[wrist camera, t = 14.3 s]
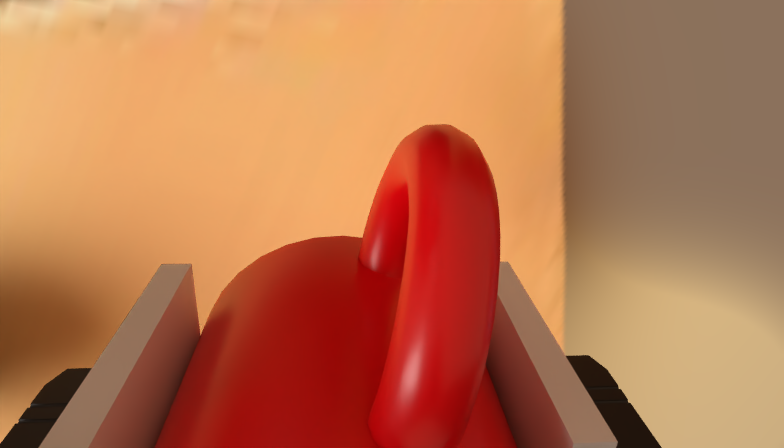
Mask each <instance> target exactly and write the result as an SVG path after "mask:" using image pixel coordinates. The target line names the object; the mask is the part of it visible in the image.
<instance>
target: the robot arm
mask: <svg viewBox="0 0 784 448" xmlns="http://www.w3.org/2000/svg"><path fill="white" fill-rule="evenodd" d="M199 339H200V329H199V321H198V313H197V305H196V297H195V289H194V281H193V273H192V264H161V266H160V267H159V269H158V270H157V272H156V273H155V275H154V276H153V278H152V279H151V281H150V282H149V284H148V285H147V287H146V288H145V290H144V291H143V293H142V294H141V296H140V297H139V299H138V300H137V302H136V303H135V305H134V306H133V308H132V309H131V311H130V312H129V314H128V315H127V317H126V318H125V320H124V321H123V323H122V324H121V326H120V327H119V329H118V330H117V332H116V333H115V335H114V336H113V338H112V339H111V340H110V342H109V343H108V345H107V346H106V348H105V349H104V351H103V352H102V354H101V355H100V357H99V358H98V360H97V361H96V363H95V364H94V366H93V367H92V368H78V369H66V370H65V371H64V372H62V373H61V374H60V375H58V376H57V377H55V378H54V379H53V380H51V381H50V382H49V383H47V384H46V385H45V386H44V387H43V388H42V390H41V391H40V392H39V394H38V395H37V396H36V398H35V399H34V400H33V401H32V403H31V406H30V408H27V409H26V411H25V412H24V413H23V415H22V416H21V417H20V419H19V422H18V424H15V425H14V426H13V428H12V429H11V430H10V432H9V433H8V434H7V436H6V437H5V438H4V440H3V441H2V442H1V444H0V448H154V447H155V445H156V442H157V440H158V438H159V435H160V433H161V430H162V428H163V426H164V423H165V421H166V418H167V416H168V413H169V411H170V409H171V406H172V404H173V401H174V399H175V397H176V394H177V392H178V389H179V387H180V384H181V382H182V380H183V377H184V375H185V372H186V370H187V368H188V365H189V363H190V360H191V358H192V355H193V353H194V351H195V348H196V346H197V343H198V341H199ZM486 367H487V370H488V372H489V375H490V377H491V380H492V383H493V385H494V388H495V391H496V393H497V396H498V398H499V401H500V404H501V406H502V409H503V412H504V414H505V417H506V419H507V422H508V425H509V427H510V430H511V433H512V435H513V438H514V440H515V443H516V446H517V448H661V446H660V445H659V443H658V442H657V440H656V439H655V438H654V436H653V435H652V433H651V432H650V430H649V429H648V428H647V426H646V425H645V423H644V422H643V420H642V419H641V418H640V416H639V415H638V413H637V412H636V410H635V409H634V407H633V406H632V405H631V403H628V399H627V398H626V396H625V395H624V393H623V392H622V390H621V389H619V388H618V385H617V383H616V382H615V380H614V379H613V377H612V376H611V375H610V373H609V372H608V370H607V369H606V368H604V367H603V366H602V365H600V364H599V363H598V362H596V361H595V360H594V359H593V358H591V357H590V356H588V355H582V356H565V354H564V353H563V351H562V349H561V348H560V346H559V345H558V343H557V341H556V340H555V338H554V336H553V335H552V333H551V331H550V330H549V328H548V327H547V325H546V323H545V322H544V320H543V318H542V317H541V315H540V313H539V312H538V310H537V308H536V307H535V305H534V304H533V302H532V300H531V299H530V297H529V295H528V294H527V292H526V290H525V289H524V287H523V286H522V284H521V282H520V281H519V279H518V277H517V276H516V274H515V272H514V271H513V269H512V267H511V266H510V264H509V263H508V262H500V267H499V281H498V293H497V301H496V309H495V317H494V323H493V329H492V335H491V340H490V346H489V351H488V355H487V360H486Z"/></svg>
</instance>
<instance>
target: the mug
mask: <svg viewBox="0 0 784 448" xmlns="http://www.w3.org/2000/svg"><path fill="white" fill-rule="evenodd" d="M499 267H500V219H499V207H498V199H497V192H496V188H495V184H494V179H493V176H492V173H491V171H490V168H489V165H488V164H487V162H486V160H485V158H484V156H483V154H482V152H481V150H480V148H479V147H478V145H477V144H476V142H475V141H474V139H472V138H471V137H470V136H469V135H467V134H465V133H464V132H462V131H460V130H458V129H457V128H455V127H453V126H451V125H446V124H442V125H425V126H423V127H420V128H419V129H417V130H416V131H414V132H413V133H411V134H410V135H408V136H407V137H405V138H404V139H403V140H402V141H401V142H400V144H399V145H398V147H397V148H396V150H395V152H394V153H393V155H392V157H391V159H390V162H389V164H388V166H387V168H386V170H385V172H384V174H383V177H382V179H381V181H380V184H379V186H378V189H377V192H376V195H375V197H374V200H373V204H372V207H371V210H370V213H369V216H368V220H367V223H366V227H365V231H364V234H363V238H359V237H349V236H334V237H319V238H312V239H308V240H304V241H300V242H296V243H292V244H288V245H285V246H283V247H281V248H279V249H277V250H274V251H272V252H270V253H268V254H266V255H264V256H261V257H260V258H259V259H257V260H256V261H254V262H253V263H252V264H250V265H249V266H248V267H246V268H245V269H243V270H242V271H241V272H239V273H238V274H237V276H236V277H235V278H234V279H233V280H232V281H231V282H230V283H229V284H228V285H227V287H226V288H225V289H224V290H223V291H222V293H221V294H220V296H219V298H218V300H217V301H216V303H215V305H214V307H213V309H212V310H211V312H210V314H209V317H208V319H207V322H206V324H205V326H204V329H203V331H202V334H201V336H200V339H199V341H198V343H197V346H196V348H195V351H194V353H193V355H192V358H191V360H190V363H189V365H188V368H187V370H186V372H185V375H184V377H183V380H182V382H181V384H180V387H179V389H178V392H177V394H176V397H175V399H174V401H173V404H172V406H171V409H170V411H169V413H168V416H167V418H166V421H165V423H164V426H163V428H162V430H161V433H160V435H159V438H158V440H157V442H156V445H155V447H154V448H517V446H516V443H515V440H514V438H513V435H512V433H511V430H510V427H509V425H508V422H507V419H506V417H505V414H504V412H503V409H502V406H501V404H500V401H499V398H498V396H497V393H496V391H495V388H494V385H493V383H492V380H491V377H490V375H489V372H488V370H487V367H486V360H487V355H488V351H489V346H490V340H491V335H492V329H493V323H494V317H495V309H496V301H497V293H498V281H499Z"/></svg>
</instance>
